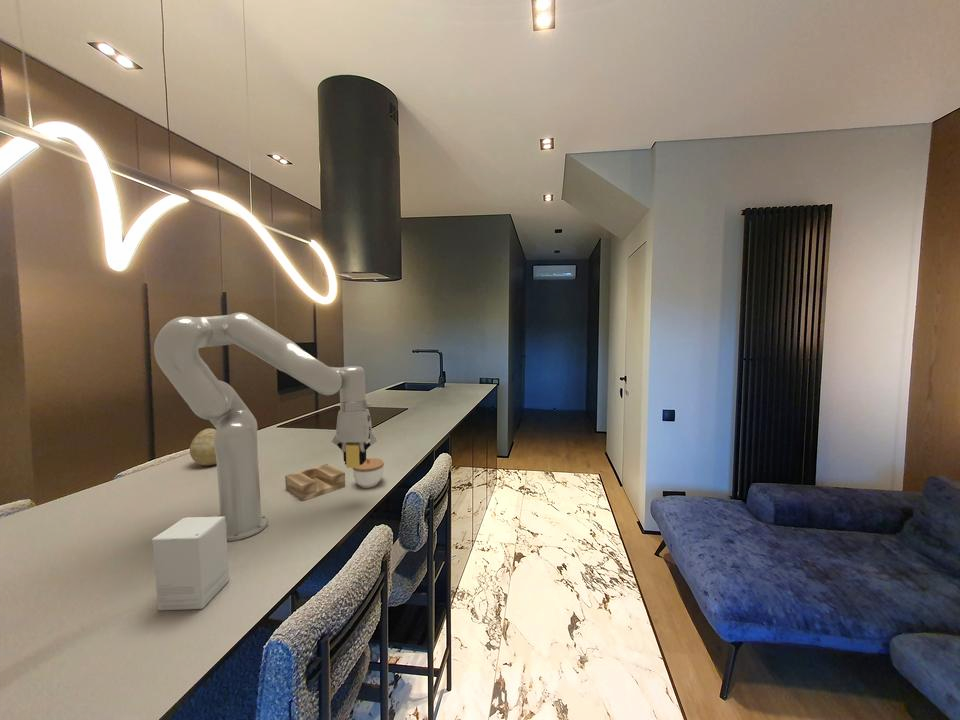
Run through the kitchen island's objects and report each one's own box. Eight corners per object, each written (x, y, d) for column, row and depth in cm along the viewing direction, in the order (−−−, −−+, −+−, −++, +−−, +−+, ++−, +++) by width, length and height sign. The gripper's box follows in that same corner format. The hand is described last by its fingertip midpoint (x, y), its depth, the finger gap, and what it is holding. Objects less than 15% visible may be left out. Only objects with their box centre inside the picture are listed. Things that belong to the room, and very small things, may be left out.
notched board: (302, 501, 121) (301, 486, 121) (285, 489, 130) (285, 475, 129) (345, 486, 132) (345, 472, 132) (327, 476, 141) (327, 463, 141)
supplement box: (231, 579, 83) (227, 515, 82) (203, 610, 74) (198, 537, 73) (189, 580, 83) (184, 515, 82) (155, 611, 74) (150, 538, 73)
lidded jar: (346, 487, 132) (345, 461, 131) (368, 476, 142) (367, 452, 141) (369, 493, 127) (368, 466, 126) (390, 481, 137) (389, 456, 136)
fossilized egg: (200, 472, 145) (197, 434, 144) (184, 466, 152) (182, 430, 150) (235, 462, 156) (233, 427, 155) (219, 457, 163) (217, 423, 161)
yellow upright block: (359, 467, 117) (358, 445, 116) (346, 467, 117) (345, 445, 116) (363, 462, 121) (362, 441, 120) (351, 462, 121) (350, 441, 120)
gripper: (383, 403, 120) (384, 459, 122) (331, 403, 121) (334, 458, 123) (376, 408, 113) (377, 467, 115) (321, 408, 113) (323, 467, 115)
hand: (355, 462), depth 119 cm, fingers closed on yellow upright block, 4 cm apart
